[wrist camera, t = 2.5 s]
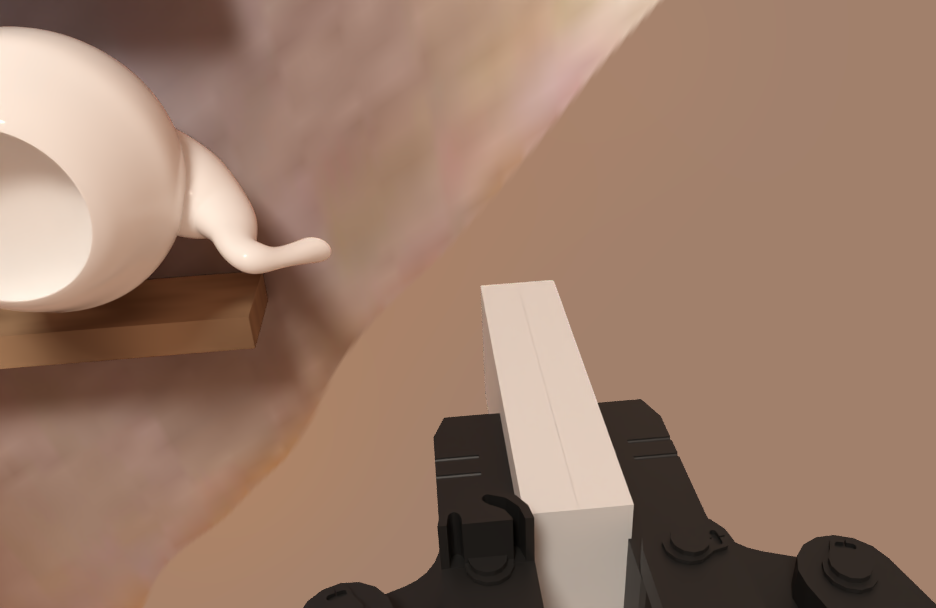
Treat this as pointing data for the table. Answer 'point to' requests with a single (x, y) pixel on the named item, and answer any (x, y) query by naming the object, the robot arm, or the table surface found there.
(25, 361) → the bay
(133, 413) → the table surface
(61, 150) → the teapot
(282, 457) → the table surface
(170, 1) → the table surface
